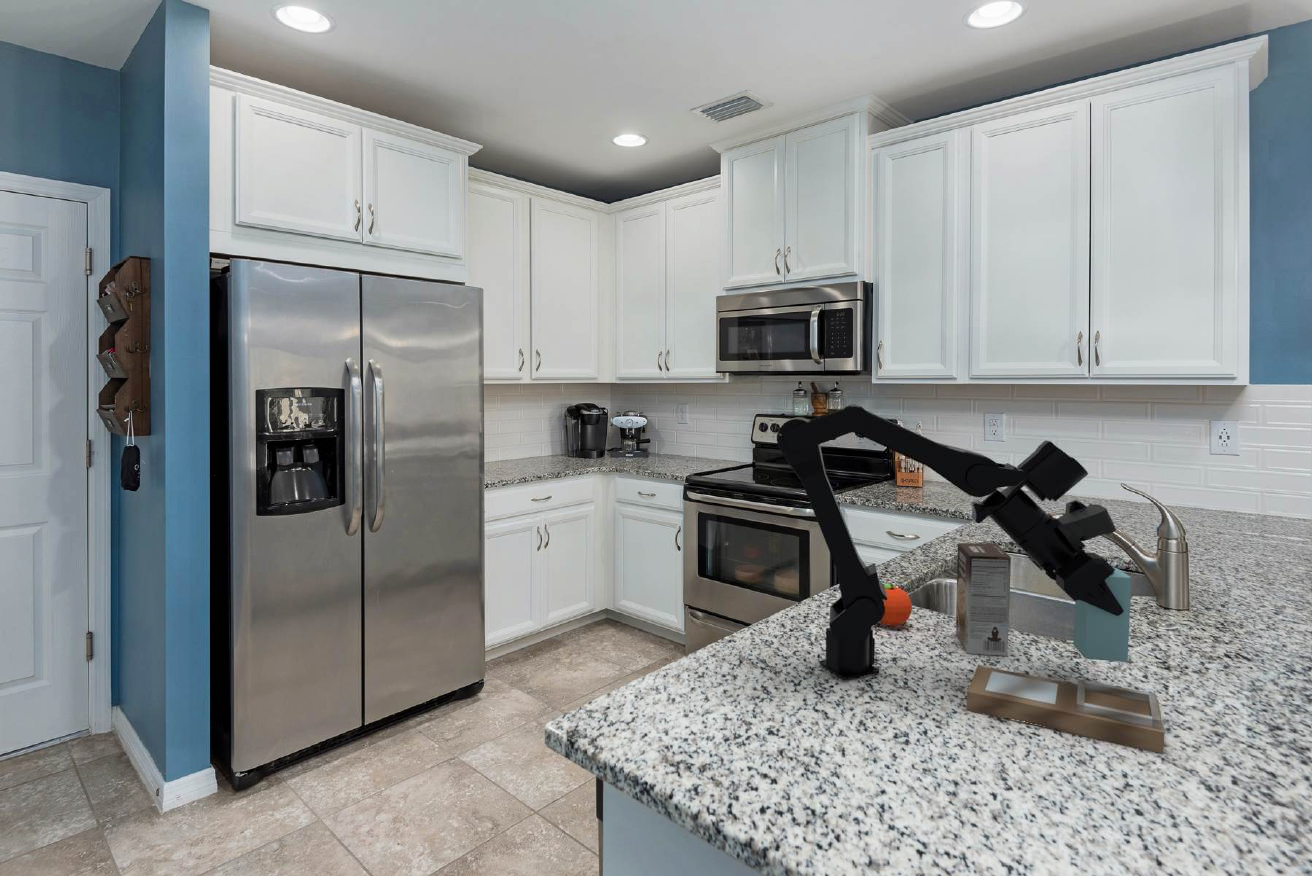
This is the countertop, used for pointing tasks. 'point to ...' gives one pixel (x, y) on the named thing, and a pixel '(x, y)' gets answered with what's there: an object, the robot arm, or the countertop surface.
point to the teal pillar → (1104, 624)
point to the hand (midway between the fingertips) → (1113, 607)
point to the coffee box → (983, 598)
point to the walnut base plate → (1070, 706)
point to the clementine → (896, 606)
